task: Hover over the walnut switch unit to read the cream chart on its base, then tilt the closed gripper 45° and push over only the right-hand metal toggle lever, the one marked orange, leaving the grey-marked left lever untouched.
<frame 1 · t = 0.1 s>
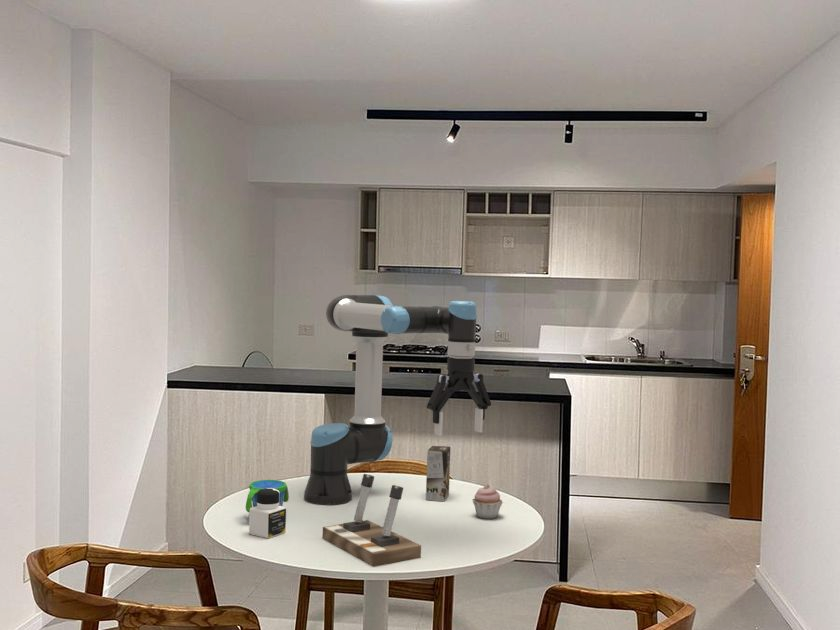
hand: (458, 433, 236), 28 cm above the table, tool pointing down, fingers open, 13 cm apart
switch unit: (370, 547, 222), on the table
left lever: (363, 498, 228), point 11 cm above the table, hinge at -15.0°
snack cup: (267, 519, 245), on the table
cupcake: (486, 517, 255), on the table
coffee box: (437, 498, 275), on the table
right lever: (391, 510, 217), point 11 cm above the table, hinge at -15.0°
medicine bottle: (267, 534, 231), on the table
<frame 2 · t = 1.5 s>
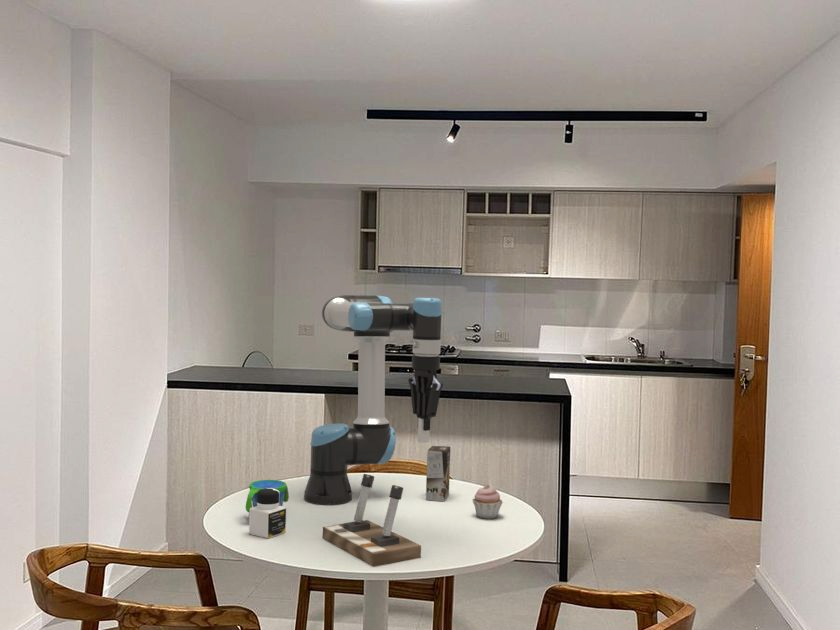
hand: (423, 441, 230), 26 cm above the table, tool pointing down, fingers closed
nothing on the table moved.
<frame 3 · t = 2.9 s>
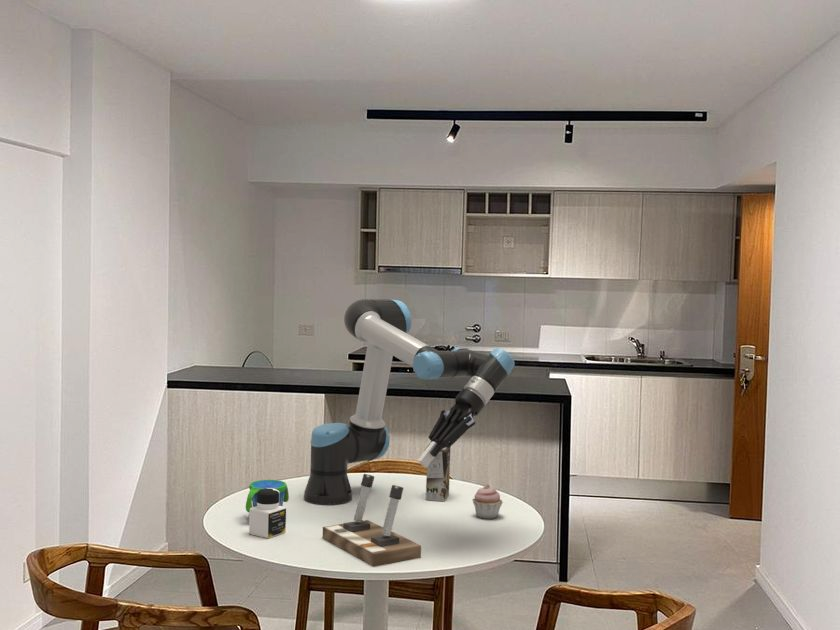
hand: (422, 463, 221), 22 cm above the table, tool tilted 45°, fingers closed
nothing on the table moved.
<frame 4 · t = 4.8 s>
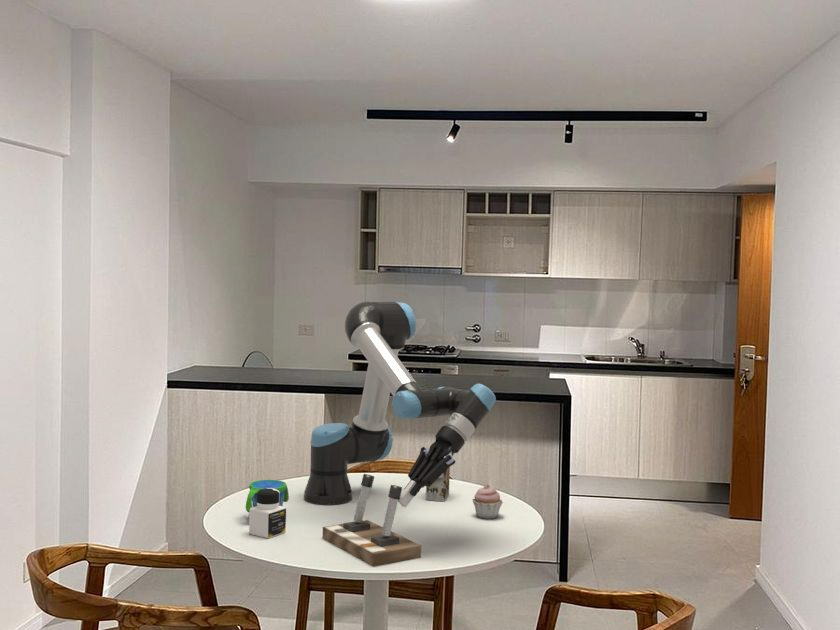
hand: (401, 503, 218), 13 cm above the table, tool tilted 45°, fingers closed
right lever: (391, 510, 217), point 11 cm above the table, hinge at -13.2°, touching gripper
everything else where it was.
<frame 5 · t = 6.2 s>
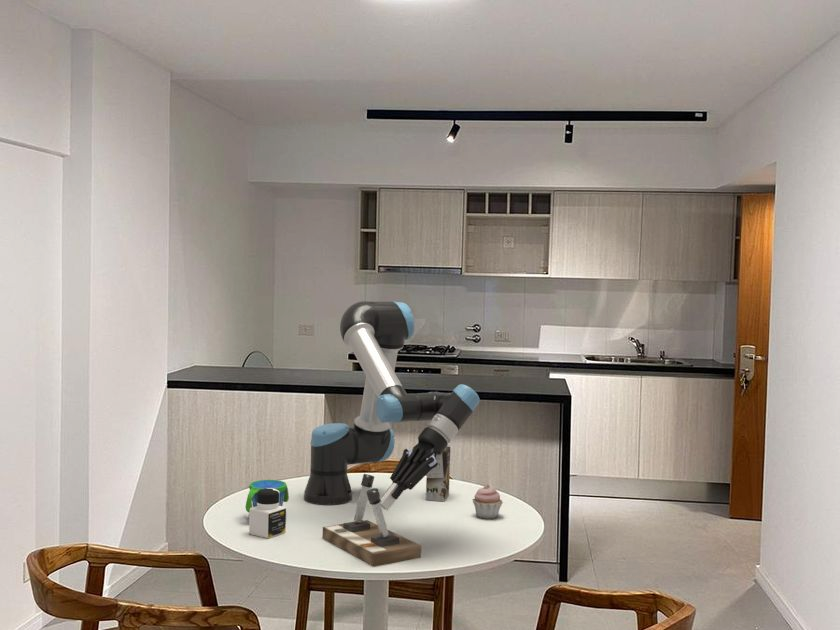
hand: (383, 506, 215), 13 cm above the table, tool tilted 45°, fingers closed
right lever: (378, 513, 215), point 11 cm above the table, hinge at 19.2°, touching gripper
everything else where it was.
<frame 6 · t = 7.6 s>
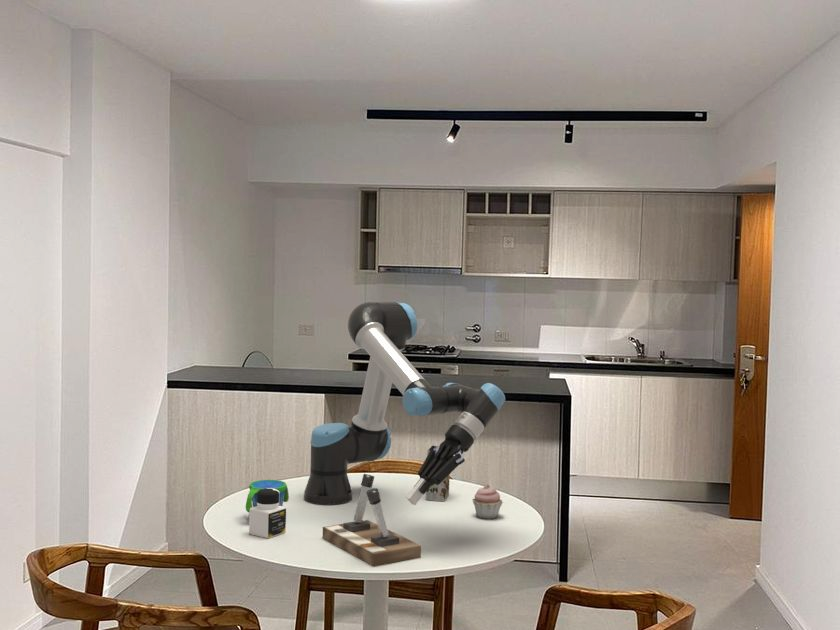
hand: (410, 501, 220), 13 cm above the table, tool tilted 45°, fingers closed
right lever: (378, 513, 215), point 11 cm above the table, hinge at 19.2°
everything else where it was.
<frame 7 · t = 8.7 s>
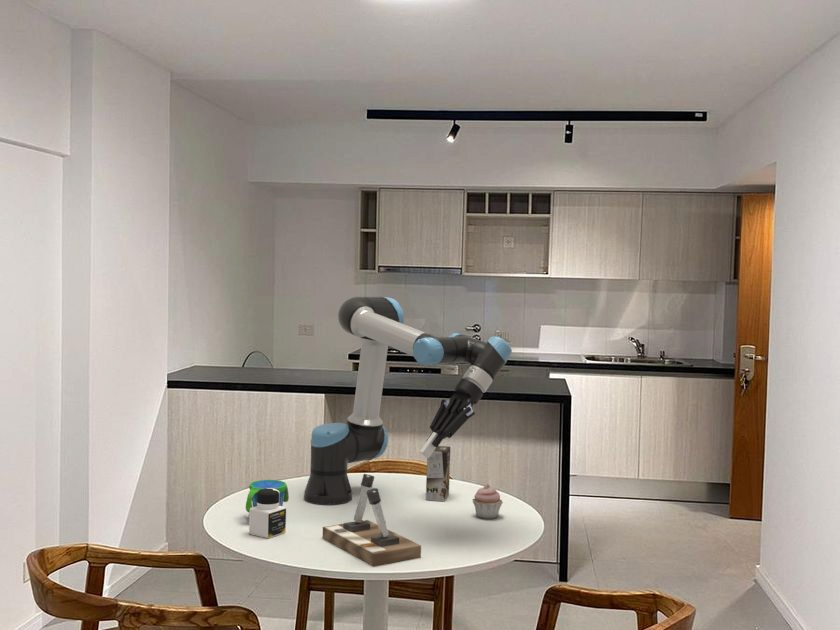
hand: (424, 454, 228), 23 cm above the table, tool tilted 40°, fingers closed
nothing on the table moved.
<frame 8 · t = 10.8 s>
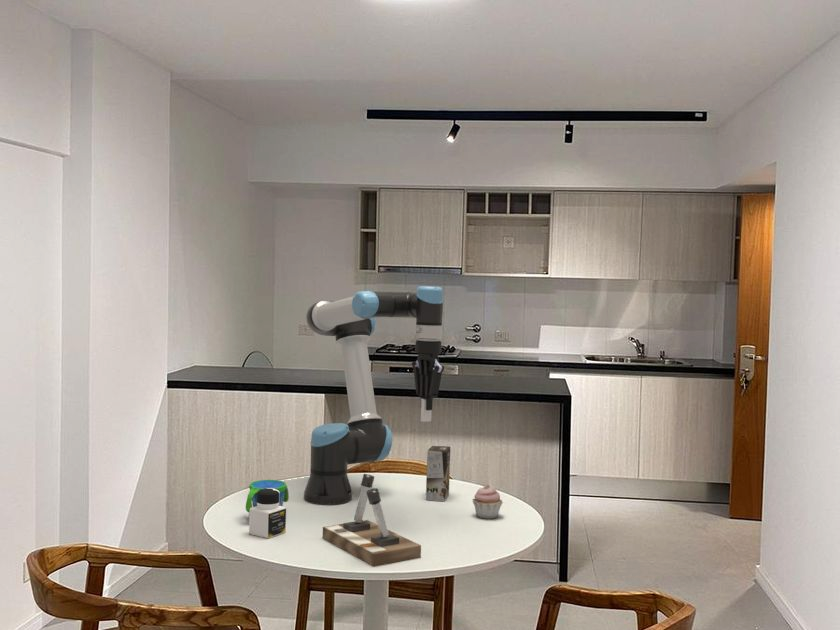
hand: (425, 420, 246), 29 cm above the table, tool pointing down, fingers closed
nothing on the table moved.
at the end: right lever at +19° (first picture: -15°); left lever at -15° (first picture: -15°) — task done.
